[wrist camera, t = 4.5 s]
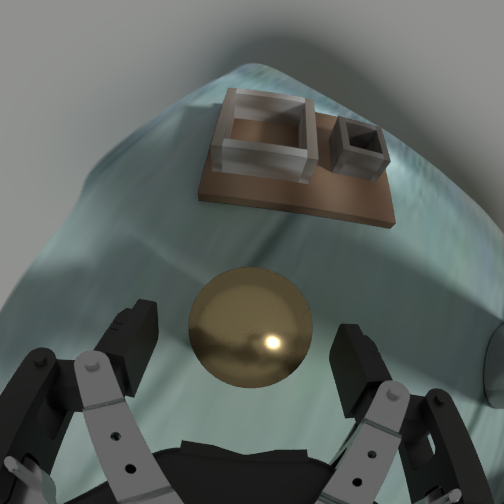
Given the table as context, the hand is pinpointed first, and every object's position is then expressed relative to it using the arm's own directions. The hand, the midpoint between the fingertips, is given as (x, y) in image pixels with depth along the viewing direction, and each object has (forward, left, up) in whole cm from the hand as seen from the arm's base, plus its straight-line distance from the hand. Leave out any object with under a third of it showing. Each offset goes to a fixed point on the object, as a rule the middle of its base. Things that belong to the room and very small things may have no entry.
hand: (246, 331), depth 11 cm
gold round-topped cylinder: (0, 0, -6) cm, 6 cm away
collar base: (-4, -16, -6) cm, 18 cm away
